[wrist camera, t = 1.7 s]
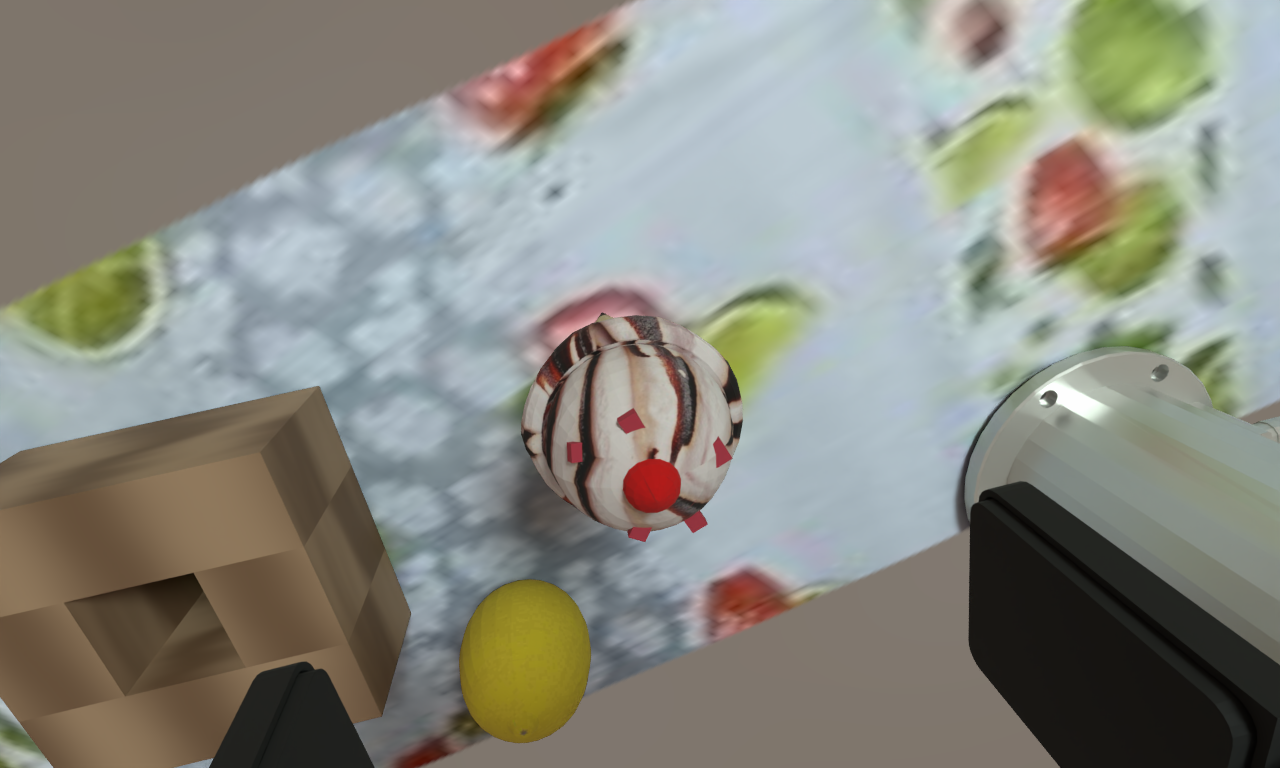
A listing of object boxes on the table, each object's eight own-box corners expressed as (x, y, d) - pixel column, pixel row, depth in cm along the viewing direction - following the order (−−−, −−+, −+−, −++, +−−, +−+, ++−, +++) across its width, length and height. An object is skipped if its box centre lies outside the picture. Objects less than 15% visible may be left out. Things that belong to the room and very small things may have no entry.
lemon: (528, 656, 33) (523, 807, 26) (445, 595, 32) (414, 739, 24) (609, 591, 33) (626, 726, 25) (529, 524, 31) (523, 650, 23)
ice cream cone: (504, 293, 27) (458, 470, 13) (623, 214, 26) (708, 312, 12) (583, 400, 29) (616, 652, 15) (694, 329, 28) (835, 522, 14)
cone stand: (319, 385, 27) (259, 452, 22) (411, 613, 32) (382, 716, 26) (19, 451, 26) (-121, 537, 21) (157, 673, 31) (72, 792, 25)
